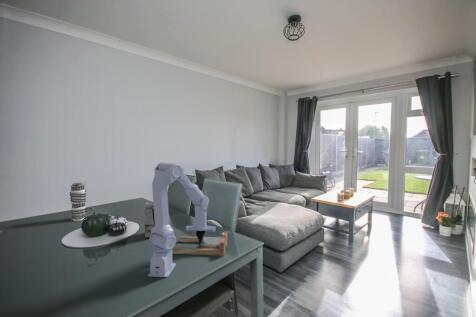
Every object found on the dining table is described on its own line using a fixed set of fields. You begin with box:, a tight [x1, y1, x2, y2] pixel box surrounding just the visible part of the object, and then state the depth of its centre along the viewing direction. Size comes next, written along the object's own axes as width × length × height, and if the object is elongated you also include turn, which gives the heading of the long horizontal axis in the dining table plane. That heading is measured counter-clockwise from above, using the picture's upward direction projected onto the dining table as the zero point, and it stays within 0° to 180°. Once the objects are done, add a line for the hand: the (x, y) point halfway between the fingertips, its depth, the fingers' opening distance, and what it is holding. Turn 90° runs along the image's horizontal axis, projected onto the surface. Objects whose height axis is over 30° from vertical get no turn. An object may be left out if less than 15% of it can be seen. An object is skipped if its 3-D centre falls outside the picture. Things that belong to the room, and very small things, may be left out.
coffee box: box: [144, 204, 155, 238], centre depth 125 cm, size 9×6×16 cm
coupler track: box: [172, 230, 229, 257], centre depth 109 cm, size 14×25×6 cm, turn 86°
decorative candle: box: [69, 182, 87, 222], centre depth 151 cm, size 9×9×25 cm
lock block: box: [199, 236, 222, 249], centre depth 109 cm, size 8×10×4 cm
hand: (201, 244), depth 109 cm, fingers closed
